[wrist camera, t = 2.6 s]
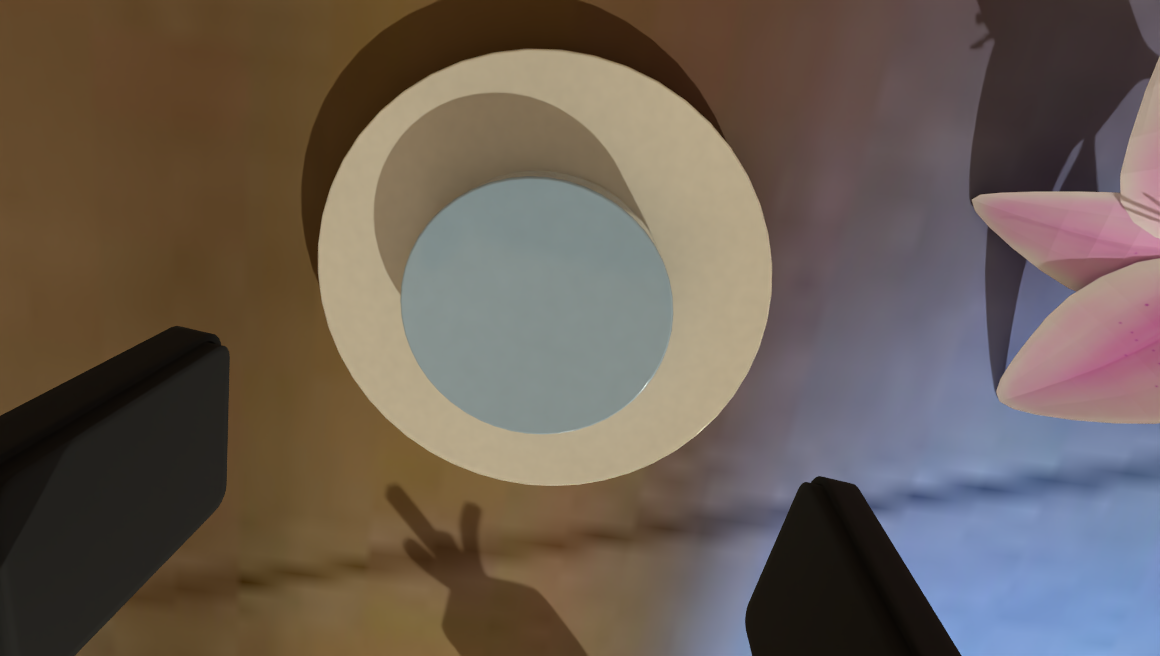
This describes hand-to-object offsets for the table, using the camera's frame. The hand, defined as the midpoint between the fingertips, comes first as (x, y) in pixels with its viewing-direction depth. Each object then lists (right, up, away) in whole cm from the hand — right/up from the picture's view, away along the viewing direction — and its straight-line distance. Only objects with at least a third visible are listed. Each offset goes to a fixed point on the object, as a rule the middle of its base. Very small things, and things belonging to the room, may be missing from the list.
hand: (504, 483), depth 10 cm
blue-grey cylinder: (0, +3, +8) cm, 8 cm away
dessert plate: (0, +4, +9) cm, 10 cm away
